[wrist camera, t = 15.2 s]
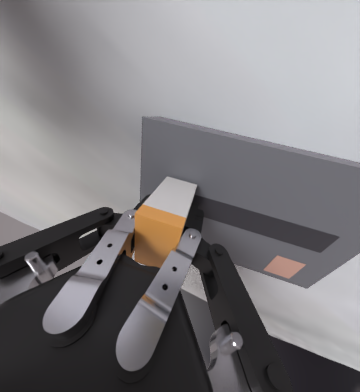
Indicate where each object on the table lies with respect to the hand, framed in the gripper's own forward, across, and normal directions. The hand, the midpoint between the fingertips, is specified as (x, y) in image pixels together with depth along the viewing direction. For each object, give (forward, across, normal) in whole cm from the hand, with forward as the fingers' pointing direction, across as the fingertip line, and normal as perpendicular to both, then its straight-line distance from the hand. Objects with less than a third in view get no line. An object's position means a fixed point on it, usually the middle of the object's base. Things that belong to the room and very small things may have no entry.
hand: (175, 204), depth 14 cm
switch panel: (+5, -7, 0) cm, 8 cm away
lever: (+1, 0, 0) cm, 1 cm away
